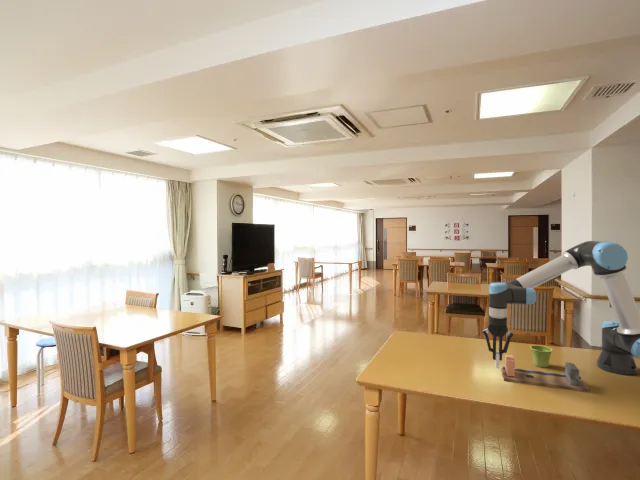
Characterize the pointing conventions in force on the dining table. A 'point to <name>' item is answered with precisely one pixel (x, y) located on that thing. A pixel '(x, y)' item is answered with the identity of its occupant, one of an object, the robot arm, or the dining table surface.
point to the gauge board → (549, 378)
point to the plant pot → (541, 355)
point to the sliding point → (510, 365)
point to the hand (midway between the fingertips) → (497, 366)
